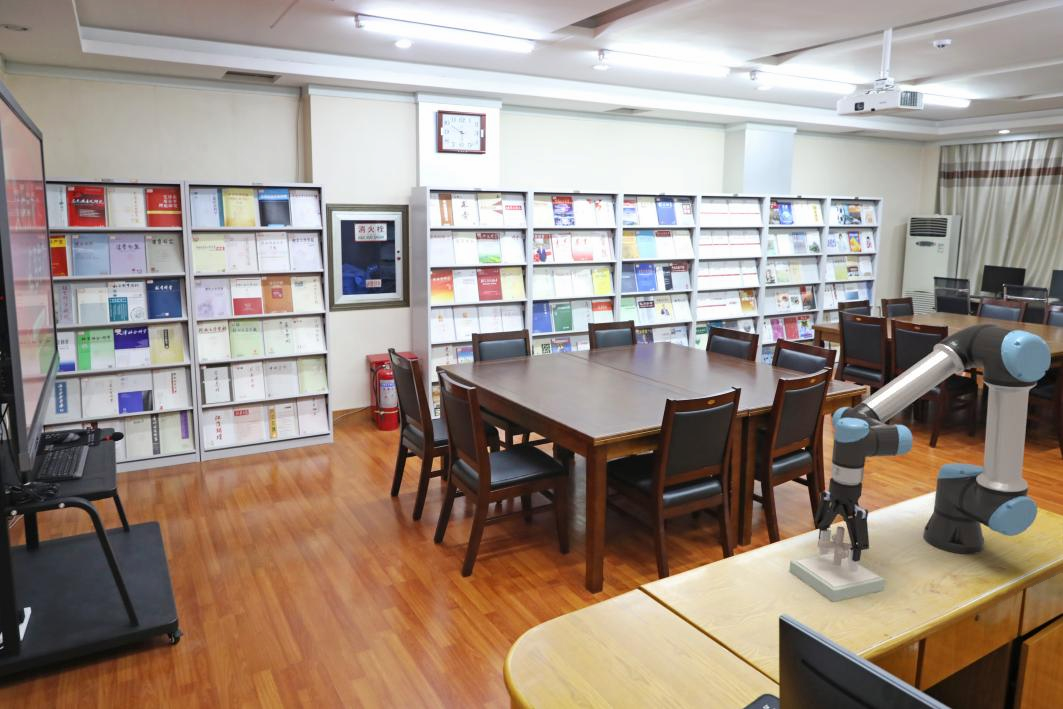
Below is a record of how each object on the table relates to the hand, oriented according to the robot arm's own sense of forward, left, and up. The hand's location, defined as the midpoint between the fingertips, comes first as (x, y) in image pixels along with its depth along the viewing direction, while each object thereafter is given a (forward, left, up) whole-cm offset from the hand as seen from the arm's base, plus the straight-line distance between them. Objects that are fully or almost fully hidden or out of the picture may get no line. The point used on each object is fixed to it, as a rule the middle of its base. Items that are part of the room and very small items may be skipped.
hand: (837, 562), depth 191 cm
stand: (0, 0, -5) cm, 5 cm away
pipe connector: (0, 0, -1) cm, 1 cm away
